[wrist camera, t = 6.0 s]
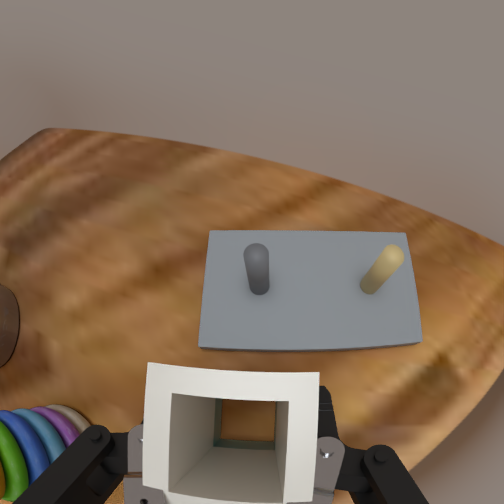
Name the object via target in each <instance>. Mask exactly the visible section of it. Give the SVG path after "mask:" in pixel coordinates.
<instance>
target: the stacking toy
mask: <svg viewBox="0 0 504 504" xmlns="http://www.w3.org/2000/svg"><path fill="white" fill-rule="evenodd" d="M89 426H91V425H90V424H89V423H88V421H87V420H86V419H85V418H84V417H82V416H81V415H80V414H79V413H78V412H76V411H75V410H73V409H71V408H69V407H66V406H63V405H48V406H45V407H34V408H31V409H16V410H13V411H11V412H10V411H6V410H1V411H0V500H1V499H3V500H6V501H11V502H14V501H15V500H16V499H17V498H18V497H19V496H20V495H21V494H22V493H23V492H24V491H25V490H26V489H27V488H28V487H29V486H30V485H31V484H32V483H33V482H34V481H35V480H36V479H37V478H38V477H39V476H40V475H41V474H42V473H43V472H44V471H45V470H46V469H47V468H48V467H49V466H50V465H51V464H52V463H53V462H54V461H55V460H56V459H57V458H58V457H59V456H60V455H61V453H62V452H63V451H64V450H65V449H66V448H67V447H68V446H69V445H70V444H71V443H72V442H73V441H74V440H75V439H76V438H77V437H78V436H79V435H80V434H81V433H82V432H83V431H84V430H85V429H86V428H88V427H89Z"/></svg>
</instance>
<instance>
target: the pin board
mask: <svg viewBox="0 0 504 504" xmlns="http://www.w3.org/2000/svg"><path fill="white" fill-rule="evenodd" d="M420 342H422V330H421V321H420V312H419V304H418V297H417V291H416V284H415V278H414V273H413V267H412V262H411V257H410V252H409V247H408V242H407V238H406V234H405V233H393V232H352V231H268V230H227V231H210V234H209V243H208V251H207V260H206V269H205V278H204V287H203V297H202V308H201V319H200V330H199V342H198V347H200V348H201V349H211V350H229V351H256V352H315V351H342V350H359V349H373V348H385V347H396V346H405V345H414V344H417V343H420Z"/></svg>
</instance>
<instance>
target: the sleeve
mask: <svg viewBox="0 0 504 504" xmlns="http://www.w3.org/2000/svg"><path fill="white" fill-rule="evenodd" d="M222 398H223V399H237V400H258V401H276V406H275V429H274V442H271V441H244V440H230V439H220V436H221V415H222ZM318 406H319V372H299V373H282V372H246V371H228V370H214V369H202V368H191V367H182V366H174V365H166V364H158V363H151V362H148V367H147V378H146V391H145V405H144V424H143V485H144V486H148V487H152V488H156V489H160V490H163V492H164V496H165V499H166V502H167V504H287V502H309V501H312V498H313V488H314V476H315V464H316V449H317V431H318Z"/></svg>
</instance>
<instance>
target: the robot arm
mask: <svg viewBox="0 0 504 504" xmlns="http://www.w3.org/2000/svg"><path fill="white" fill-rule="evenodd" d="M18 328H19V312H18V305H17V302H16V299H15V297H14V294H13V293H12V292H11V291H10V290H9V289H7V288H6V287H4V286H2V285H1V284H0V367H1V366H2V365H4V364H5V363H6V362H7V360H8V359H9V358H10V356H11V354H12V352H13V350H14V347H15V344H16V340H17V335H18ZM143 424H144V418H143V421H142V423H141V424H140V425H137V426H135V427H133V428H132V429H131V430H130V432H126V433H110V432H109V430H108V429H107V428H106V427H104V426H101V425H92V426H89V427H88V428H86V429H85V430H84V431H83V432H82V433H81V434H80V435H79V436H78V437H77V438H76V439H75V440H74V441H73V442H72V443H71V444H70V445H69V446H68V447H67V448H66V449H65V450H64V451H63V452H62V453H61V455H60V456H59V457H58V458H57V459H56V460H55V461H54V462H53V463H52V464H51V465H50V466H49V467H48V468H47V469H46V470H45V471H44V472H43V473H42V474H41V475H40V476H39V477H38V478H37V479H36V480H35V481H34V482H33V483H32V484H31V485H30V486H29V487H28V488H27V489H26V490H25V491H24V492H23V493H22V494H21V495H20V496H19V497H18V498H17V499H16V500H15V501H14V502H13V503H12V504H104V502H105V501H106V500H107V499H108V498H109V496H110V495H111V494H112V493H113V491H114V490H115V489H116V488H117V486H118V485H119V484H120V482H121V481H122V480H123V483H124V504H167V502H166V499H165V496H164V492H163V490H160V489H156V488H152V487H148V486H144V485H143ZM334 489H338V490H345V491H348V492H349V494H350V496H351V498H352V500H353V502H354V504H429V503H428V502H427V500H426V499H425V497H424V495H423V494H422V493H421V491H420V489H419V488H418V486H417V485H416V484H415V482H414V480H413V479H412V477H411V476H410V474H409V473H408V471H407V469H406V468H405V466H404V465H403V463H402V462H401V460H400V459H399V457H398V456H397V454H396V453H395V451H394V450H393V449H392V448H390V447H389V446H386V445H375V446H372V447H370V448H369V449H368V450H360V449H354V448H350V447H348V446H346V445H344V444H343V443H342V442H341V440H340V439H339V436H338V432H337V426H336V421H335V415H334V411H333V405H332V400H331V395H330V392H329V391H328V390H327V389H326V387H325V386H319V406H318V431H317V449H316V464H315V476H314V488H313V498H312V501H309V502H287V504H331V503H332V500H333V497H334Z"/></svg>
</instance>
